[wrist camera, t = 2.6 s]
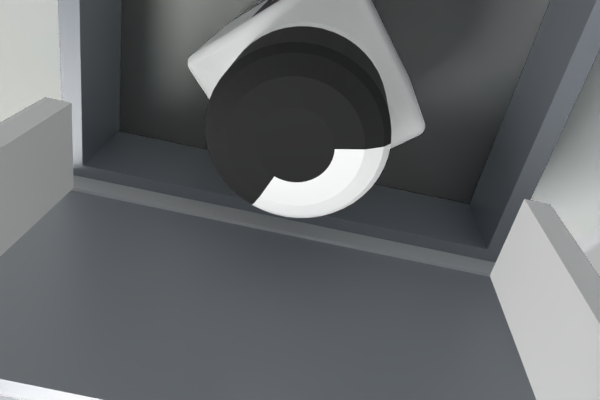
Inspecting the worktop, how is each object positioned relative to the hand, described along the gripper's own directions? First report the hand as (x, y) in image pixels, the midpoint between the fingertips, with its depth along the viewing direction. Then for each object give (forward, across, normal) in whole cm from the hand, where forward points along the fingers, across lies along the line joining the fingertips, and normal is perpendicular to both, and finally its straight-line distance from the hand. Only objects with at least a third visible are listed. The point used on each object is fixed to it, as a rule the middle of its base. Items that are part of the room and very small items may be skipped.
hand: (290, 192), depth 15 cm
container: (+16, 0, 0) cm, 16 cm away
